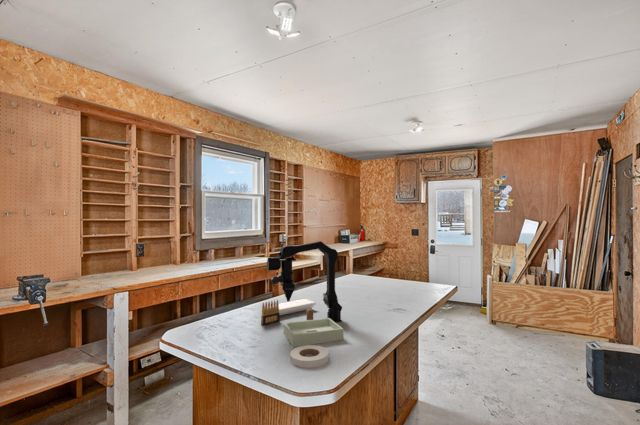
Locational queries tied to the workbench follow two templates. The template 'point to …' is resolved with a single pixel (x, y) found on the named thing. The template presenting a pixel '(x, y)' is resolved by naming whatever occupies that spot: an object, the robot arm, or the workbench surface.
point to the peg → (309, 314)
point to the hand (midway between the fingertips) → (287, 299)
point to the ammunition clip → (270, 313)
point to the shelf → (295, 306)
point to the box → (312, 332)
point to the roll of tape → (314, 361)
